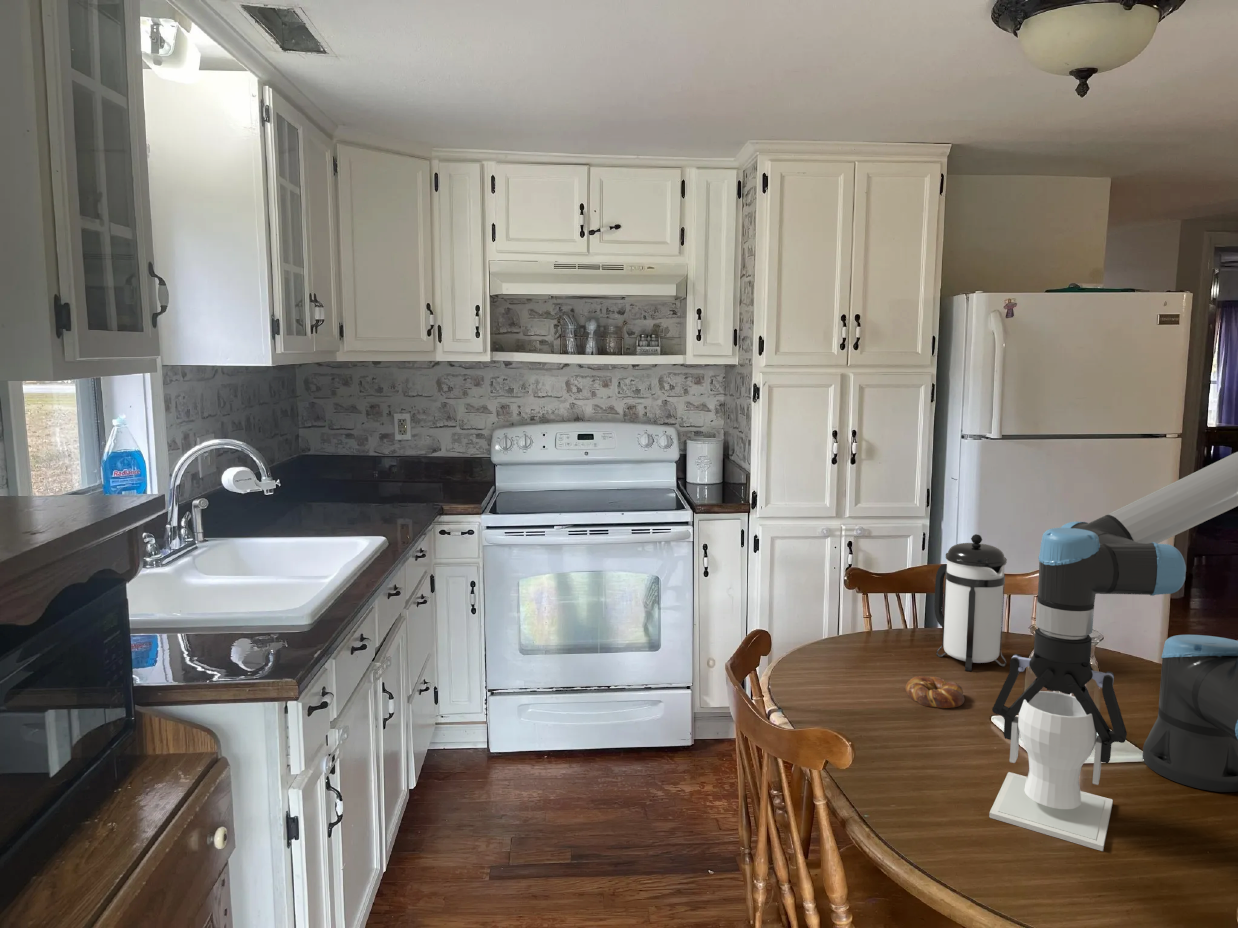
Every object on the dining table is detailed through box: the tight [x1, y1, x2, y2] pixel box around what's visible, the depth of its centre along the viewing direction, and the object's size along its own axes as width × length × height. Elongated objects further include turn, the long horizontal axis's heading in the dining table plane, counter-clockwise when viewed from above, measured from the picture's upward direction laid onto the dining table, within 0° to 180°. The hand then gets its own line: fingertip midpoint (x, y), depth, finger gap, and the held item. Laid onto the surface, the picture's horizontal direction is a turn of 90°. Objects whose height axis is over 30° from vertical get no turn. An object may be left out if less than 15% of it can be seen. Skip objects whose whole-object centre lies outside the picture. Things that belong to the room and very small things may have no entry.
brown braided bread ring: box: [905, 675, 965, 709], centre depth 167 cm, size 12×11×4 cm
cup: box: [1017, 690, 1098, 809], centre depth 124 cm, size 11×11×15 cm
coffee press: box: [933, 533, 1008, 672], centre depth 186 cm, size 17×16×30 cm
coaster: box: [988, 771, 1113, 852], centre depth 125 cm, size 15×15×1 cm
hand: (1053, 769), depth 124 cm, fingers closed on cup, 11 cm apart
